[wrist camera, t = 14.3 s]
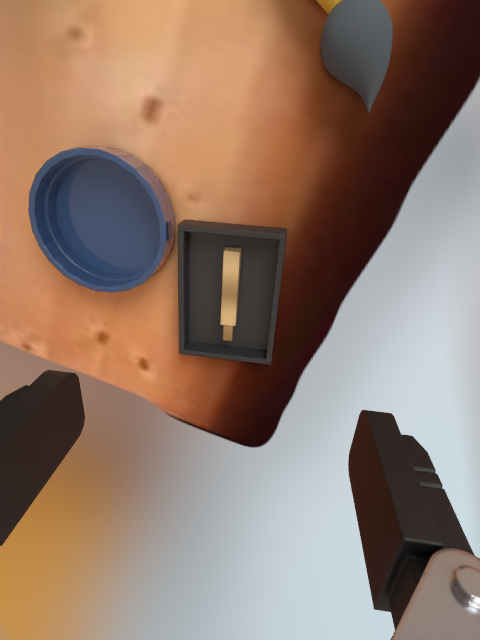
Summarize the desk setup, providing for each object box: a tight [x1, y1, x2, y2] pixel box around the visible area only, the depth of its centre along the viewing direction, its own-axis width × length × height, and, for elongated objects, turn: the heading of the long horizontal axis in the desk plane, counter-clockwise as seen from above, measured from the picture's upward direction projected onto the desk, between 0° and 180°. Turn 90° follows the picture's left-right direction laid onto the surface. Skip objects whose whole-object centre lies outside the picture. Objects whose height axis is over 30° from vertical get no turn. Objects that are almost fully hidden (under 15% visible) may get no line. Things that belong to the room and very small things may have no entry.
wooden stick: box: [221, 247, 242, 341], centre depth 38 cm, size 10×2×2 cm, turn 176°
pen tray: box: [178, 220, 287, 365], centre depth 38 cm, size 14×10×2 cm
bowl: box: [28, 147, 175, 292], centre depth 35 cm, size 13×13×4 cm
